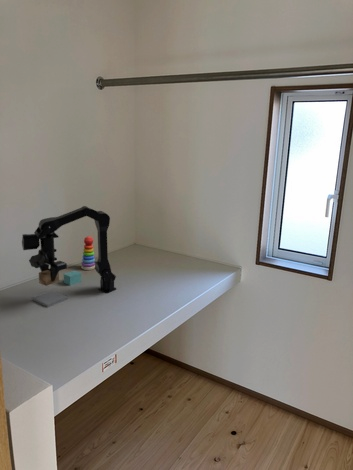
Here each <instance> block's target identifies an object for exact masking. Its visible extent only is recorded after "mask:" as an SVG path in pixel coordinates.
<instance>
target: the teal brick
mask: <svg viewBox="0 0 353 470" xmlns="http://www.w3.org/2000/svg"><path fill="white" fill-rule="evenodd" d="M63 282H64V284H65V285H68V286H70V287H71V286H73V285H76V284H78V283H82V272H79V271H77V270H73V271H69V272H66V273H64V274H63Z"/></svg>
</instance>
